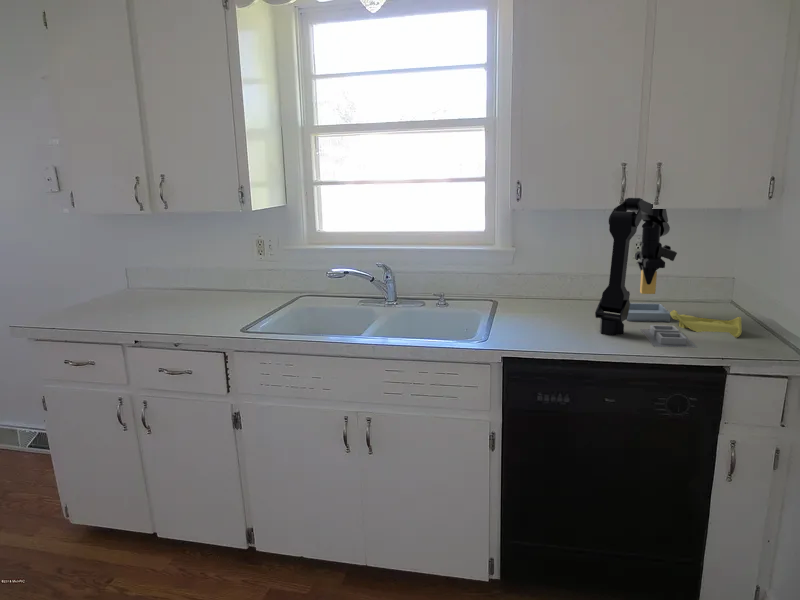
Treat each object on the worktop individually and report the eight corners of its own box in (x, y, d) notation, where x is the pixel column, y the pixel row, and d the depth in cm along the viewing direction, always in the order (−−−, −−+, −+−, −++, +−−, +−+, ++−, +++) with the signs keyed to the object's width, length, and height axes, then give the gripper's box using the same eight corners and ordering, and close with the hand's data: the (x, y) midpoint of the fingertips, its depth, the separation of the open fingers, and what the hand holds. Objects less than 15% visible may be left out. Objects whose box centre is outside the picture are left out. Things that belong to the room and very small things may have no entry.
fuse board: (653, 351, 167) (654, 339, 166) (639, 333, 184) (640, 323, 183) (697, 352, 164) (698, 341, 164) (679, 334, 182) (680, 323, 181)
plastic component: (731, 321, 186) (742, 315, 177) (730, 343, 185) (741, 338, 176) (666, 314, 191) (674, 308, 182) (665, 336, 190) (673, 331, 180)
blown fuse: (655, 293, 199) (657, 269, 197) (641, 293, 200) (643, 269, 198) (653, 292, 202) (655, 267, 200) (639, 291, 203) (641, 267, 201)
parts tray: (627, 320, 198) (628, 312, 198) (620, 310, 212) (620, 303, 211) (670, 321, 196) (670, 313, 195) (659, 311, 209) (660, 303, 208)
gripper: (683, 243, 186) (679, 289, 190) (668, 235, 204) (665, 278, 207) (647, 243, 188) (644, 289, 192) (635, 236, 206) (633, 277, 210)
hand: (647, 283), depth 200 cm, fingers closed on blown fuse, 3 cm apart
